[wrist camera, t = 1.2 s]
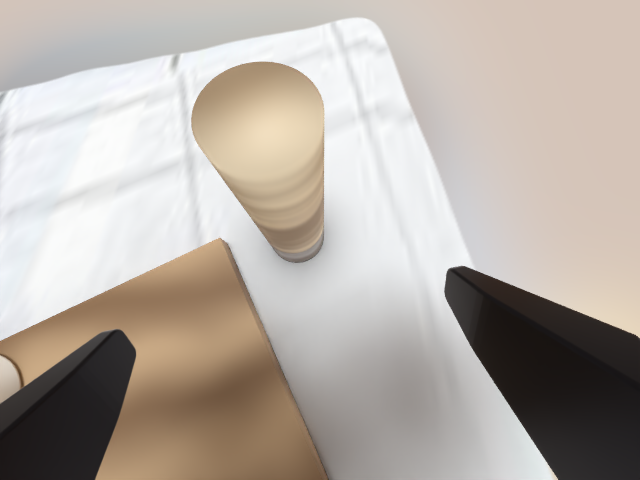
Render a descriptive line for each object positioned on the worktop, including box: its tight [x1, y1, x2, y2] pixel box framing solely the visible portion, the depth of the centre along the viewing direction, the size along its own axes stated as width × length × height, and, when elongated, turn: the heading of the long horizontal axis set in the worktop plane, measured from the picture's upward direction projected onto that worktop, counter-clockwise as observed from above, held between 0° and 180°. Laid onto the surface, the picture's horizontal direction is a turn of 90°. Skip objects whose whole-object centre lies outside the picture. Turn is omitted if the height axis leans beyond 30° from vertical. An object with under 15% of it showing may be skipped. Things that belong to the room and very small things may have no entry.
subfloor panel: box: [0, 238, 329, 480], centre depth 16 cm, size 17×20×2 cm
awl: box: [191, 62, 324, 263], centre depth 14 cm, size 4×4×13 cm
